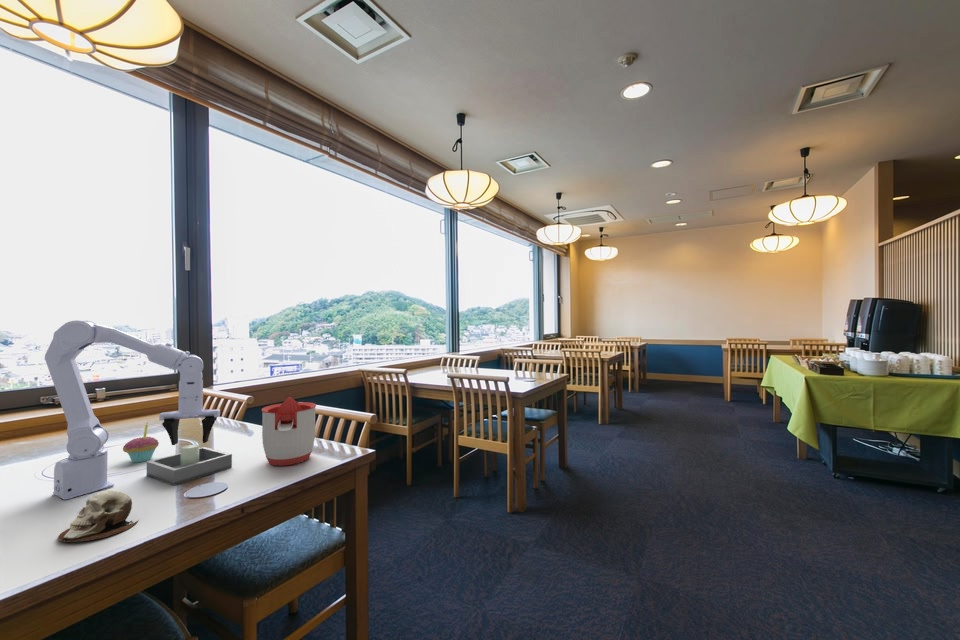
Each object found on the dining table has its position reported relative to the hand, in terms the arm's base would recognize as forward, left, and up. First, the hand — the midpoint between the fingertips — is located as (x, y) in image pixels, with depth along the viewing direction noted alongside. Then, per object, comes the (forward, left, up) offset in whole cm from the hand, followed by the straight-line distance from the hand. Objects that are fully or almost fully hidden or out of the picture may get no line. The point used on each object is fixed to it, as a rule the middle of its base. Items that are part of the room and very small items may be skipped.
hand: (190, 443), depth 114 cm
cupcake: (-2, +25, -9) cm, 26 cm away
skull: (-26, -20, -9) cm, 34 cm away
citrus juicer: (+19, -18, -9) cm, 28 cm away
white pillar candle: (0, 0, -8) cm, 8 cm away
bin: (0, 0, -8) cm, 8 cm away
